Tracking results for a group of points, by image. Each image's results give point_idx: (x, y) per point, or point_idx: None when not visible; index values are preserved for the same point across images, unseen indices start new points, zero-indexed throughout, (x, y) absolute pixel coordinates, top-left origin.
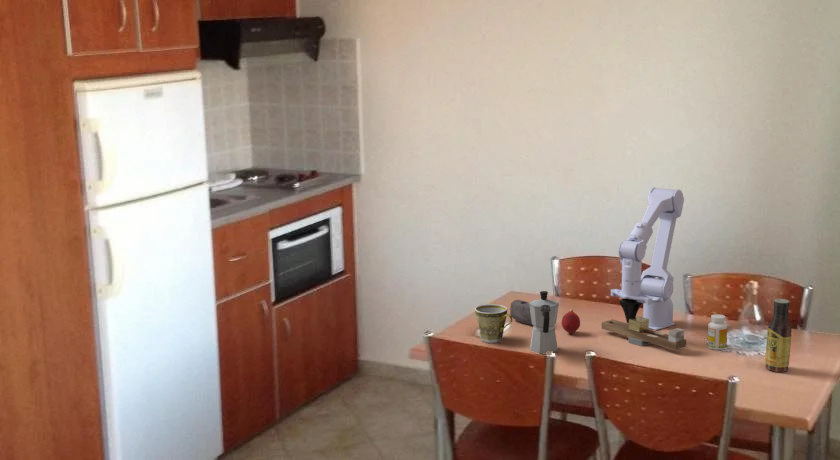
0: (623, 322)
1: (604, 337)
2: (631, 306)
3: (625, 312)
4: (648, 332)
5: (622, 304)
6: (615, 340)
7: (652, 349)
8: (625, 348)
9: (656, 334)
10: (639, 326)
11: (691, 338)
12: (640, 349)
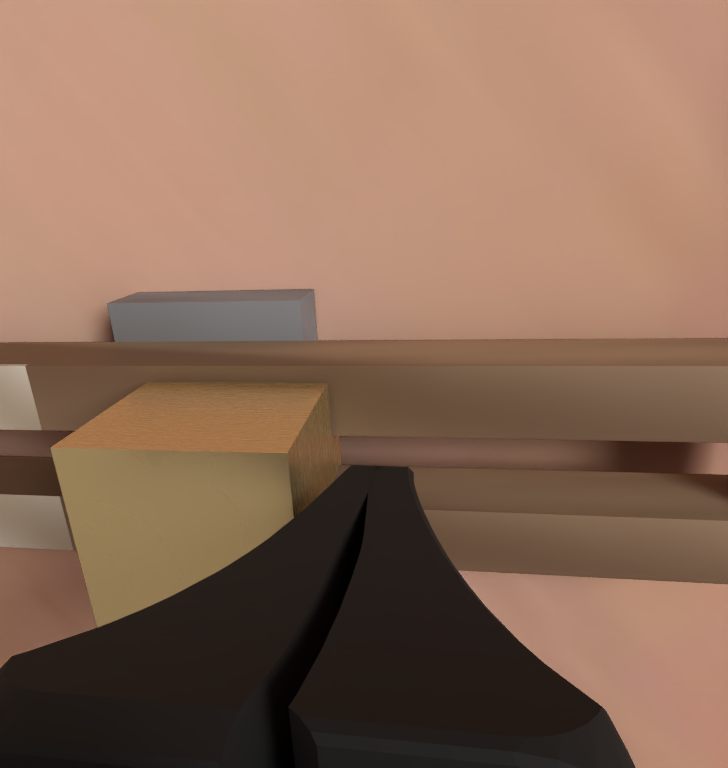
0: (601, 576)
1: (647, 219)
2: (23, 653)
3: (401, 552)
4: None
5: (445, 676)
6: (466, 234)
7: (14, 300)
8: (179, 87)
9: (32, 489)
10: (102, 416)
11: None
12: (68, 203)
